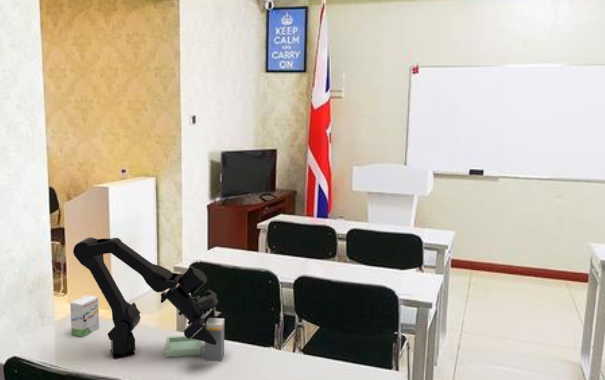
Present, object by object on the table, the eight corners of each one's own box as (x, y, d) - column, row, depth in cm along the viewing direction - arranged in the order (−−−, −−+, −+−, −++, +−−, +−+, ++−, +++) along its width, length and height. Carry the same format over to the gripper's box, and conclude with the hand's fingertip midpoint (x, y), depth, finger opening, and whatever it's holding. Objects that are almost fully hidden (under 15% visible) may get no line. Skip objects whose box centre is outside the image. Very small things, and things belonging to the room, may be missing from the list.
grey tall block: (204, 360, 160) (204, 324, 158) (208, 353, 165) (208, 317, 163) (221, 361, 159) (221, 325, 158) (224, 353, 164) (224, 318, 163)
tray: (165, 358, 160) (165, 352, 160) (166, 342, 171) (166, 336, 171) (200, 355, 163) (200, 349, 163) (200, 340, 173) (200, 334, 173)
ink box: (82, 337, 173) (81, 304, 171) (70, 335, 174) (69, 302, 173) (100, 327, 181) (99, 296, 179) (88, 325, 182) (87, 294, 181)
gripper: (194, 296, 149) (231, 333, 151) (208, 276, 168) (242, 309, 169) (168, 320, 151) (205, 357, 152) (185, 298, 169) (218, 331, 171)
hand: (219, 337), depth 161 cm, fingers open, 9 cm apart
